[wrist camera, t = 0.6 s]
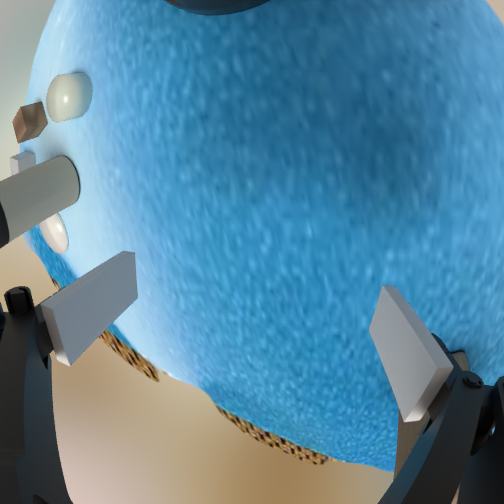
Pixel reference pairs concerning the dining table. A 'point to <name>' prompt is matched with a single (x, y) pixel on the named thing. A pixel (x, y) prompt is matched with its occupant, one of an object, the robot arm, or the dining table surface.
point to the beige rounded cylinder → (69, 96)
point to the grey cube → (22, 162)
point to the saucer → (55, 233)
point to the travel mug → (36, 196)
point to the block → (418, 428)
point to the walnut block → (29, 122)
